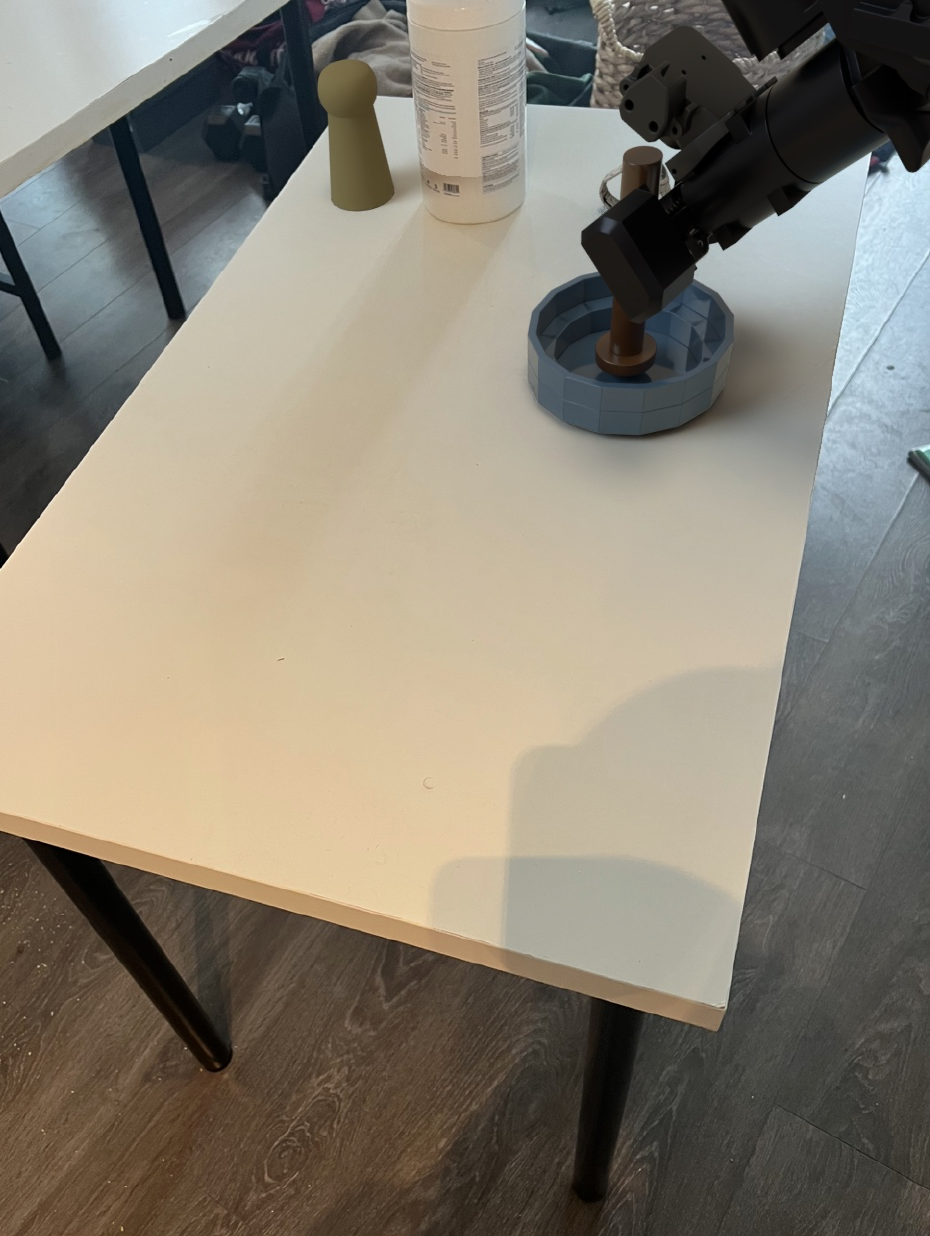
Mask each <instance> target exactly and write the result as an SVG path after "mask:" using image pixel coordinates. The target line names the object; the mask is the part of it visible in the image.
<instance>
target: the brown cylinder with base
mask: <svg viewBox="0 0 930 1236" xmlns="http://www.w3.org/2000/svg"><path fill="white" fill-rule="evenodd" d="M663 161H664V153H663V151H662V150H661V149H660V148H658V147H655V146H652V145H638V146H634V147H631V148H628V149H627V150H626V151H624V153H623V155H622V163H621V165H622V173H621V175H620V176H621V178H620V179H621V180H620V193H619V200H621V199H622V198H624V197H625V196H626V195H628V194H629V193H630V192H631V191H633V190H634V189H635V188H638V187H640V186H641V185H642V184H643V183H645V182H646V184H647V185H648V187H649V189H650V190H651V192H652V193H653V194H655V195H656V196H657V198H658V200H659V199H660V194H659V190H660V181H661V171H662V164H663ZM645 324H646V320H645V321H644V322H642V323H640V324H639V323H636V322H633V321H629V319H628V318H627V316H626V315H625V313H624V311H623V310H622V308H621V307H620V305H619V304H618V302H617V300H616V299H615V297H614V296H613V301H612V315H611V329H610V332H608V333H606V334H604V335H603V336H601V337H600V338H599V339H598V341H597V343H596V345H595V362H596V364H597V366H598V367H599V368H600V369H601V370H602V371H604V372H606V373H608V374H611V375H614V376H622V377H628V376H635V375H639V374H642V373H644V372H646V371H647V370H649V369H650V368H651V367H652V366H653V365H654V363H655V361H656V354H657V343H656V341H655V339H654V338H653V337H652V336H651V335H649V334H648V333H646V332H645Z"/></svg>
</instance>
